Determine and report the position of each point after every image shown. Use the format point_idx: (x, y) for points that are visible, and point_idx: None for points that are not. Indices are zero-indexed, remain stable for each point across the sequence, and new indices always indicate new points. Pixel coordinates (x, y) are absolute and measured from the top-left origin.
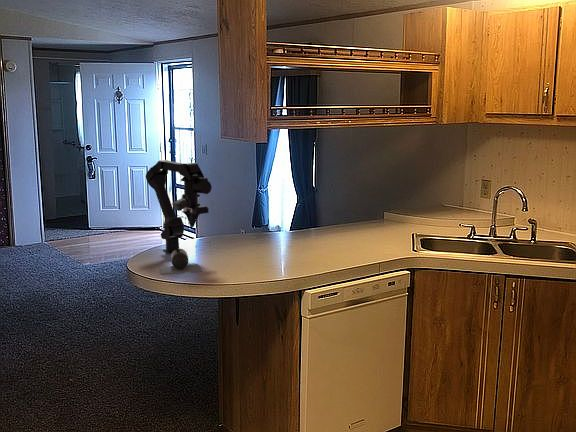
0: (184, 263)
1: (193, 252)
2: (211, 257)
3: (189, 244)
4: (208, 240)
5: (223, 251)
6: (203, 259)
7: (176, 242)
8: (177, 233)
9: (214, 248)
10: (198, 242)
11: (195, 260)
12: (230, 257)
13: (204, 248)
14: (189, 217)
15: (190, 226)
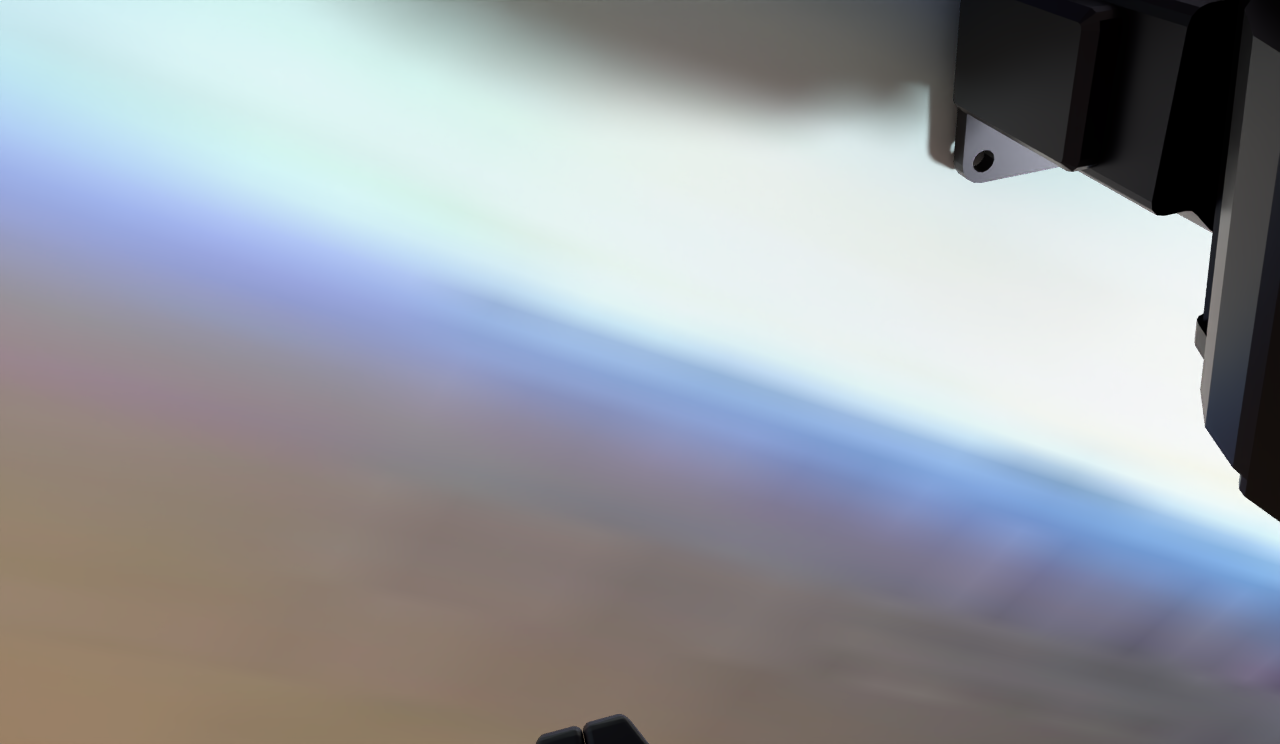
0: None
1: (746, 326)
2: (186, 482)
3: None
4: (1199, 676)
5: (528, 712)
6: (60, 309)
7: (1076, 101)
8: (1223, 221)
9: (777, 652)
10: (1222, 560)
11: (16, 124)
12: (56, 724)
13: (873, 543)
14: None
15: (612, 737)
